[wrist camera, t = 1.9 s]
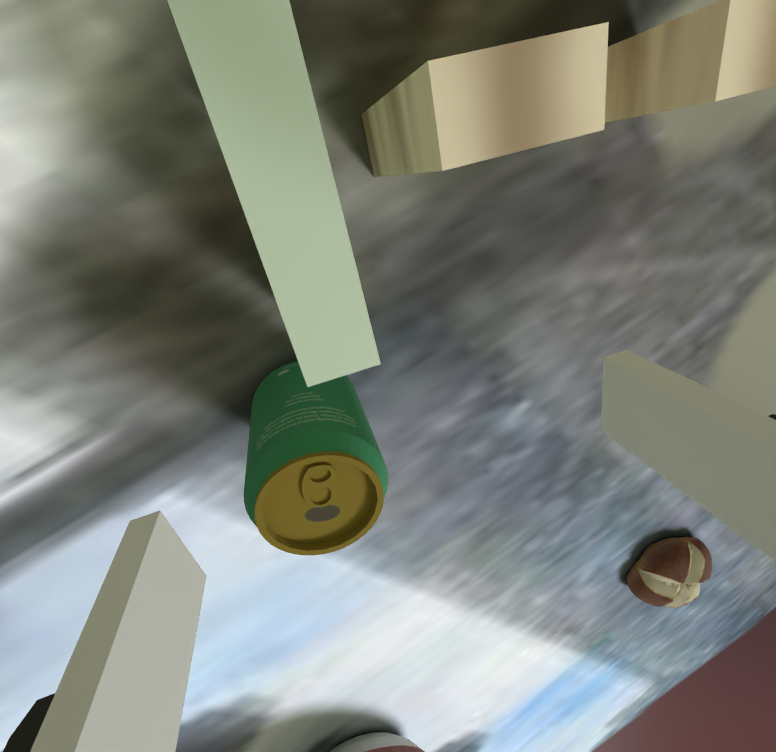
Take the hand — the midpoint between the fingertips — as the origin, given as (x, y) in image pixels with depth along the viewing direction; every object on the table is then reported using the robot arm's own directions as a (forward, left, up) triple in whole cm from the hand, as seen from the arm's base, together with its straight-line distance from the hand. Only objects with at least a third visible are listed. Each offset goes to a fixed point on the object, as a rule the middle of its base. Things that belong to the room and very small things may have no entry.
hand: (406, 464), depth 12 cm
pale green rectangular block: (-7, +6, -20) cm, 21 cm away
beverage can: (+2, -8, -20) cm, 21 cm away
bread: (+60, -10, -20) cm, 64 cm away
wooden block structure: (+5, +17, -20) cm, 26 cm away
